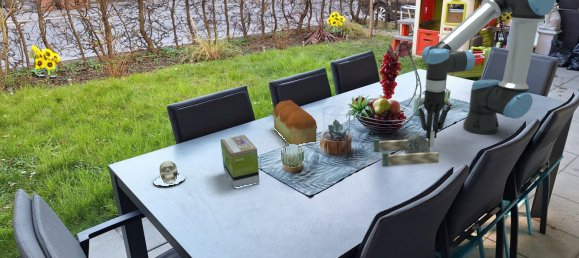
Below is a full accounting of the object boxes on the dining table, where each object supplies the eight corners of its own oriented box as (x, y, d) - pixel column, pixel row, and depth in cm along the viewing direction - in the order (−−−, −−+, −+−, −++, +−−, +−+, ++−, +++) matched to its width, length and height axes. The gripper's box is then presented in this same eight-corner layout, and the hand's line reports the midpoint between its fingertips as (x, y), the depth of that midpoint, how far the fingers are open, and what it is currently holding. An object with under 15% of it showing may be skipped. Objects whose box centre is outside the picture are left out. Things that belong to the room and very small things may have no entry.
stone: (421, 137, 165) (419, 127, 174) (400, 151, 168) (399, 141, 178) (436, 154, 166) (433, 144, 175) (415, 168, 170) (413, 157, 179)
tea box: (223, 173, 165) (219, 138, 159) (247, 168, 168) (245, 133, 163) (234, 190, 152) (230, 152, 146) (260, 184, 155) (258, 147, 150)
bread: (317, 143, 189) (317, 112, 184) (291, 148, 185) (290, 116, 180) (297, 126, 211) (296, 97, 206) (273, 130, 207) (271, 101, 202)
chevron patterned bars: (424, 147, 181) (425, 135, 179) (438, 162, 166) (439, 150, 164) (373, 150, 180) (373, 138, 178) (383, 166, 165) (383, 153, 163)
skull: (188, 182, 156) (166, 166, 152) (169, 202, 157) (147, 186, 153) (188, 168, 167) (167, 153, 163) (170, 186, 168) (149, 171, 164)
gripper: (447, 86, 167) (442, 141, 176) (415, 87, 167) (411, 143, 175) (455, 91, 160) (450, 148, 169) (422, 93, 160) (417, 150, 168)
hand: (430, 145), depth 172 cm, fingers closed
